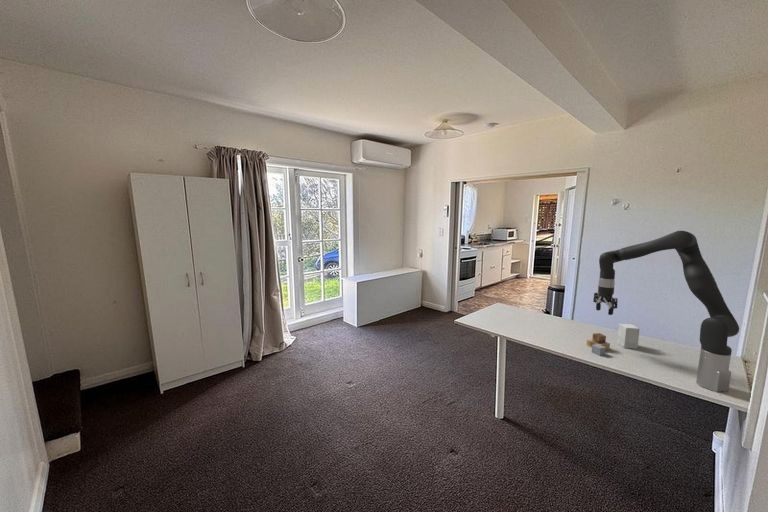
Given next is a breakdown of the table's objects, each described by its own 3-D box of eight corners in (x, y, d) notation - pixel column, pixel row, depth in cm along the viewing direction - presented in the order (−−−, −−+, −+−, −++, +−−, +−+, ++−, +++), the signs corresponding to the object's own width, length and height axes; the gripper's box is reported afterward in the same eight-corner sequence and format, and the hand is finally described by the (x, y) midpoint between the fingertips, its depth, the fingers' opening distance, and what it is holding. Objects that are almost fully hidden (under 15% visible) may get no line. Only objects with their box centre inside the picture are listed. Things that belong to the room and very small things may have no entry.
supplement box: (638, 349, 175) (640, 328, 173) (623, 348, 177) (625, 327, 175) (630, 343, 182) (632, 324, 181) (616, 342, 184) (618, 323, 182)
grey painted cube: (604, 354, 169) (605, 347, 169) (599, 355, 168) (600, 348, 167) (596, 351, 173) (597, 344, 173) (591, 352, 172) (592, 345, 171)
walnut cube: (605, 343, 175) (606, 336, 175) (598, 343, 175) (599, 336, 174) (598, 340, 180) (599, 333, 179) (592, 340, 179) (592, 333, 179)
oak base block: (609, 349, 175) (610, 343, 175) (598, 351, 173) (599, 345, 173) (596, 344, 183) (597, 338, 182) (586, 346, 181) (586, 339, 180)
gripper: (623, 288, 166) (620, 316, 168) (602, 282, 180) (600, 308, 182) (610, 288, 165) (608, 316, 167) (590, 283, 179) (588, 309, 181)
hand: (604, 312), depth 174 cm, fingers open, 8 cm apart
